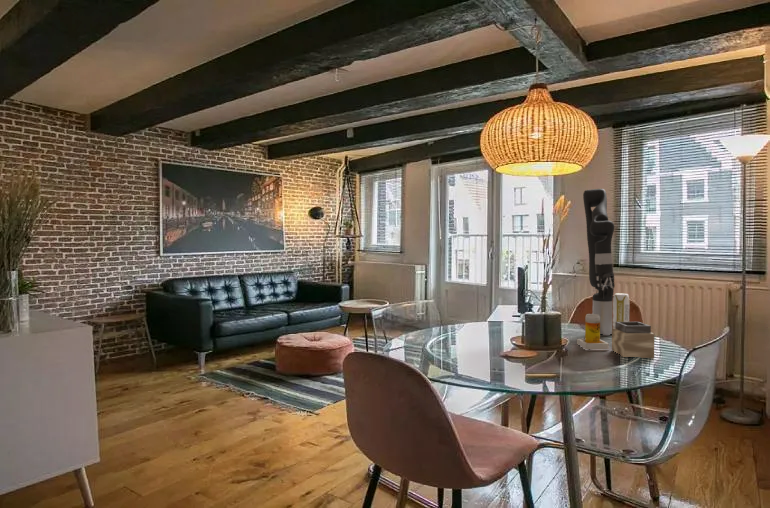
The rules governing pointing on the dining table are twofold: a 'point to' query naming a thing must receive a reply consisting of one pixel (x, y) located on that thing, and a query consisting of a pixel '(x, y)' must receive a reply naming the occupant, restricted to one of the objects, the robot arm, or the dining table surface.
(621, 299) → the juice carton
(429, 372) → the dining table surface
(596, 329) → the beer can
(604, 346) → the low collar
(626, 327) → the stand
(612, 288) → the robot arm
